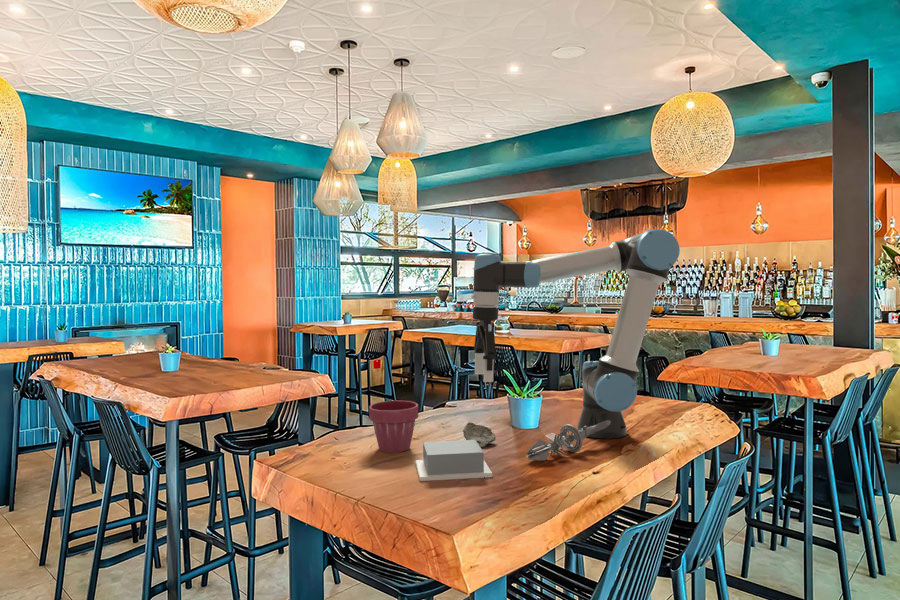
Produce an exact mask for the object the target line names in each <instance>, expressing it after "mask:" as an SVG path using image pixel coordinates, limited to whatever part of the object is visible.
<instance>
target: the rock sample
mask: <svg viewBox="0 0 900 600" xmlns="http://www.w3.org/2000/svg"><path fill="white" fill-rule="evenodd" d="M462 432H463V433H462V434H463V438H464V440H476V442H477V443H478V445H479V446H480V448H485V447H486V446H487V445H488V444H491V443H494V442H495V441H496V440H497V439H496V434H495V433H494V432H493V431H492V428H490V427H488V426H485V425H482V424H475V423H474V422H471V421H469V422H467V423H466V425H465V426H464V428H463V430H462Z"/></svg>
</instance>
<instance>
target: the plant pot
mask: <svg viewBox="0 0 900 600" xmlns="http://www.w3.org/2000/svg"><path fill="white" fill-rule="evenodd" d="M368 410H369V411H368V415H369V416H368V417H369V420H370V421H371V422H372V425H373V428H374V429H373V430H374V433H375V438H376V442H377V445H378V449H379V451H381V452H383V453H401V452H404V451H405V452H406V451H408V450H409V449H410V448H411V443H412V439H413V434H414V429H415V423H416V419H418V418H419V404H418V403H417V402H415V401H410V400H402V399H401V400H398V399H396V400H385V401H379V402H375V403H371V404H370V405H369V407H368Z"/></svg>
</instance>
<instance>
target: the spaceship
mask: <svg viewBox="0 0 900 600" xmlns="http://www.w3.org/2000/svg"><path fill="white" fill-rule="evenodd" d="M610 423H611V421H610V420H605V421H603V422H601V423H598V424H597V425H594V426H590V427H587V426H584V427H583V428H582V429H580V430H578V428H576V427H575V426H574V425H572V424H564V425H563V426H562V427H561V429H560V431H559V433H558V434H555V433H554V432H551V433H548V434H546V435H545V437H547V438H548V440H542V439H540V438H539V439H537V440H536V441H535V442H534V443H533V444H532V445H531V446H530V447H529V449H528V450H527V451H526V456H525V457H526V458H527V459H528V461H547V460H548V459H549V456H553V455H555V454H557V455H559V456H563V455H566V454H569V453H568V452H567V451H569V452H571V453H577V452H579V451H580V450H581V448H582V446H583V441H584V440H585V439H586V438H587V436H588V435H590V434H593V433H595V432H598V431H600V430H603V429H605V428H607V427H608V426H609V425H610ZM564 449H566V450H567V451H566V450H564Z"/></svg>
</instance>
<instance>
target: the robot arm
mask: <svg viewBox="0 0 900 600" xmlns="http://www.w3.org/2000/svg"><path fill="white" fill-rule="evenodd" d="M679 256H680V244H679V241H678V240H677V238H676V236H675V235H674V234H672V233H671V232H670V231H668V230H665V229H661V228H660V229H659V228H653V229H652V228H651V229H647V230H645V231H644V232H641V233H637V234H635V235H633V236H630V237H627V238H625V239H622V240H621V239H620V240H617V241H612V242H611V244H610V245H607V246H603V247H598V248H597V247H596V248H592V249H591V248H590V249H586V250H581V251H575V252H571V253H570V252H569V253H566V254H564V253H563V254H560V255H554V256H549V257H544V258H538V259H533V260H529V261H502V260H501V258H500V255H499V254H494V253H493V254H491V253H480V254H479V253H478V254H477V255H476V256H475V257H474V264H473V266H474V267H473V294H472V295H471V298H472V299H473V300H472V301H473V302H472V303H473V305H474V306H473V308H472V319H473V320H476V327H475V337H474V346H473V351H474V352H475V354H474V375H483V383H494V370H495V369H494V368H495V358H497V352H496V341H495V339H496V338H495V337H496V336H495V324H493V323H492V321H497V320H498V319H499V308H498V306H499V303H500V292H499V291H500V290H499V289H500V287H501V288H525V289H532V288H535V289H536V288H539V287H540V284H542V283H548V282H554V281H558V280H564V279H569V278H574V277H575V278H576V277H581V276H587V275H593V274H598V273H602V272H608V271H612V270H614V271H616V272H617V273H621V272H626V273H627V275H628V280H627V284H626V288H625V291H624V294H623V298H622V301H621V305H620V308H619V310H618V311H619V312H618V315H617V318H616V322H615V325H614V328H613V331H612V335H611V338H610V342H609V345H608V347H607V352H606V354H605V355H603V356H602V357H600V358H599V360H595V361H594V360H591V361H589V360H587V361H584V362H583V364H582V369H581V372H582V410H581V413H580V415H579V416H580V417H579V420H578V422H577V430H580V429H582V428H583V427H584V426H587V427H590V426H594V425H597V424H598V423H601V422H603V421H605V420H610V421H611V423H610V425H609V426H608V427H607V428H605V429H603V430H600V431H598V432H595V433H593V434H590V435H588V436H587V437H588V438H594V439H604V440H605V439H611V440H612V439H619V438H623V437H625V436H627V424H626V422H625V419H624V415H623V413H622V412H623V411H625V410H627V409H629V408H630V407H631V406H632V405H633V404H634V403H635V401H636V399H637V397H638V396H637V395H638V388H637V385H636V383H637V379H638V376H639V372H640V370H639V368H638V366H637V360H638V356H639V354H640V351H641V346H642V343H643V340H644V337H645V334H646V330H647V326H648V323H649V320H650V317H651V313H652V311H653V308H654V307H653V306H654V304H655V303H654V302H655V299H656V297H657V295H658V294H657V293H658V290H659V288H660V285H661V284H663V283H665V282H666V281H667V279H668V277H669V272H670V269H671V268H672V267H673V266H674V265H675V264H676V262H677V261H678V259H679ZM587 437H586V438H587Z"/></svg>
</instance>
